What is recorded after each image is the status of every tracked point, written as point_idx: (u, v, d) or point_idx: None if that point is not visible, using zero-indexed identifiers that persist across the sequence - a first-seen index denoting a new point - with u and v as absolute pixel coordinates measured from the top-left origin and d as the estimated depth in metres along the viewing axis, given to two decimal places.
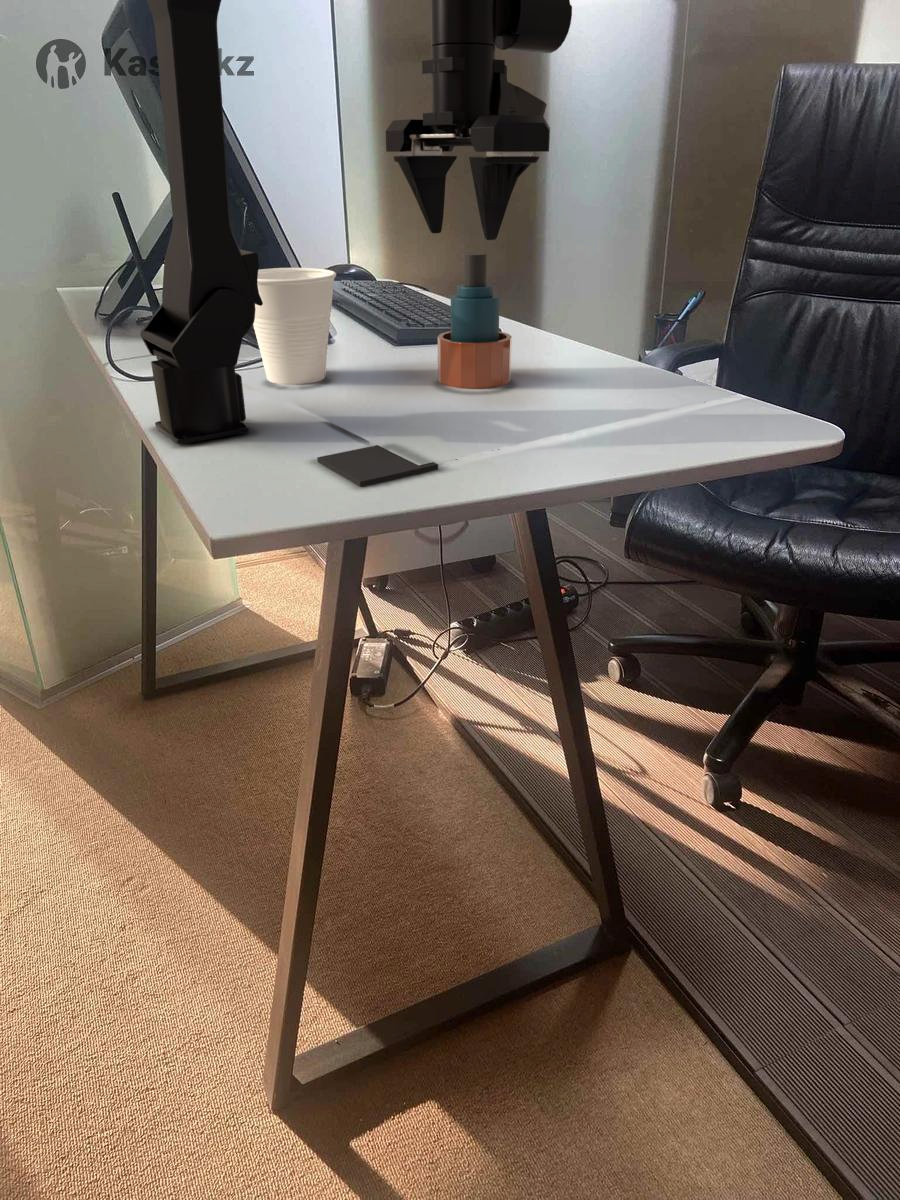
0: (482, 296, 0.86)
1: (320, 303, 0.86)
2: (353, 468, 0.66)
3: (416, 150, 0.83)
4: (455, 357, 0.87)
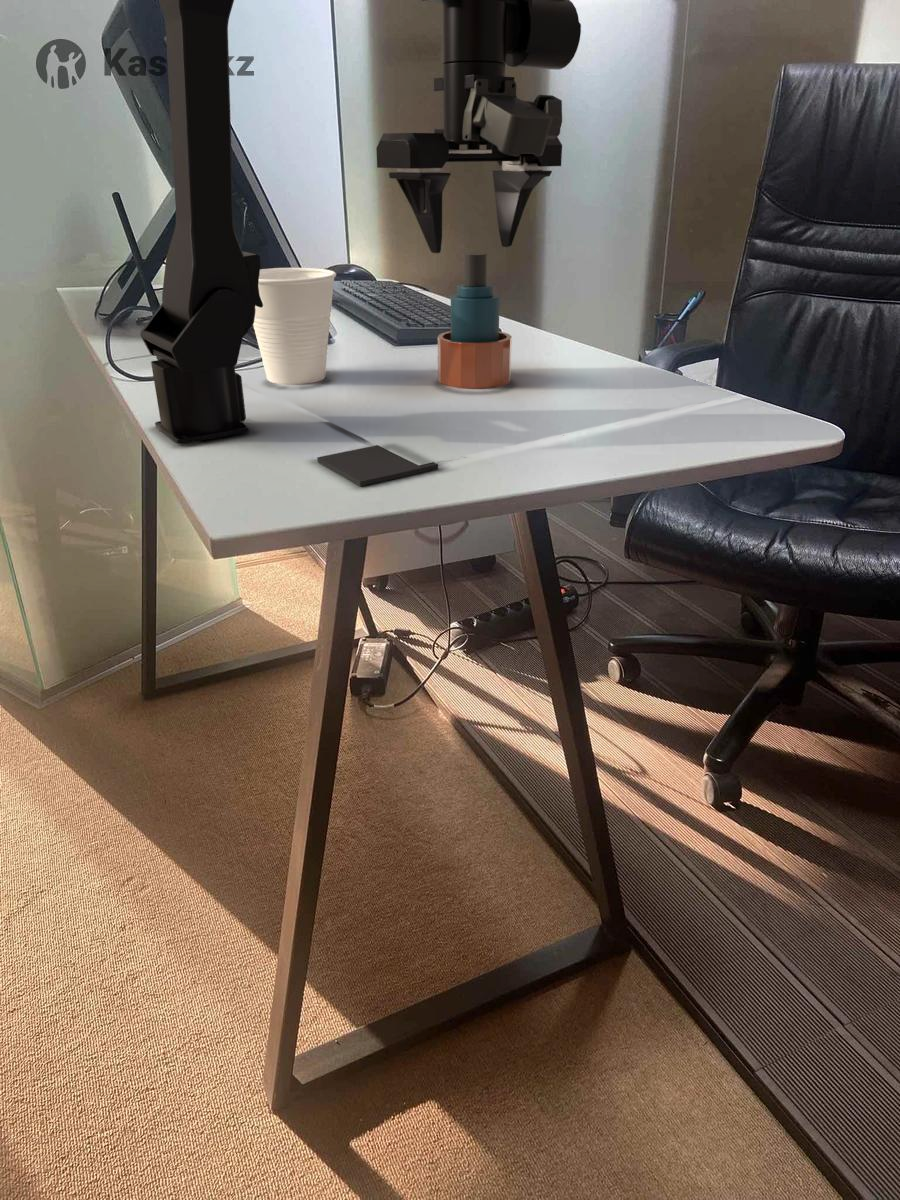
0: (482, 296, 0.86)
1: (320, 303, 0.86)
2: (353, 468, 0.66)
3: (504, 164, 0.86)
4: (455, 357, 0.87)
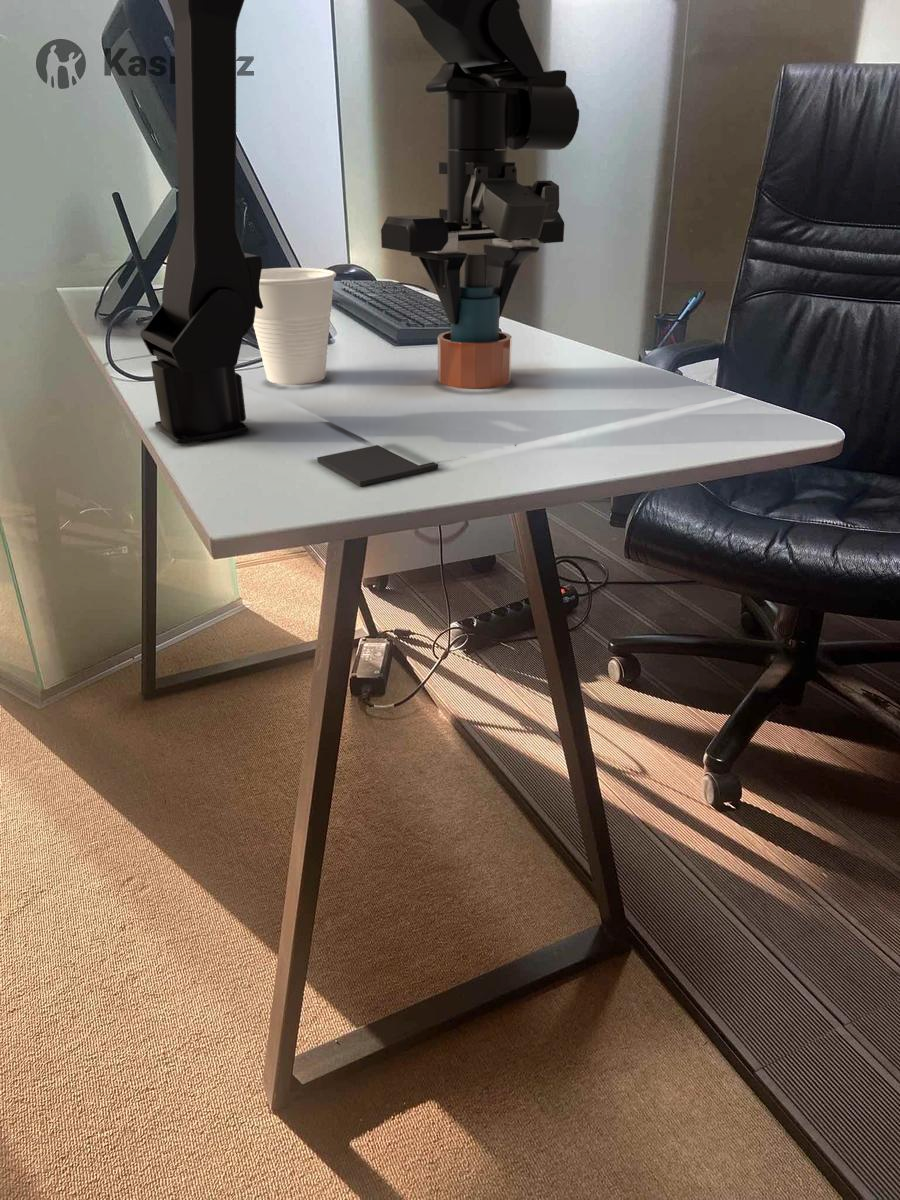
0: (482, 296, 0.86)
1: (320, 303, 0.86)
2: (353, 468, 0.66)
3: (494, 240, 0.88)
4: (455, 357, 0.87)
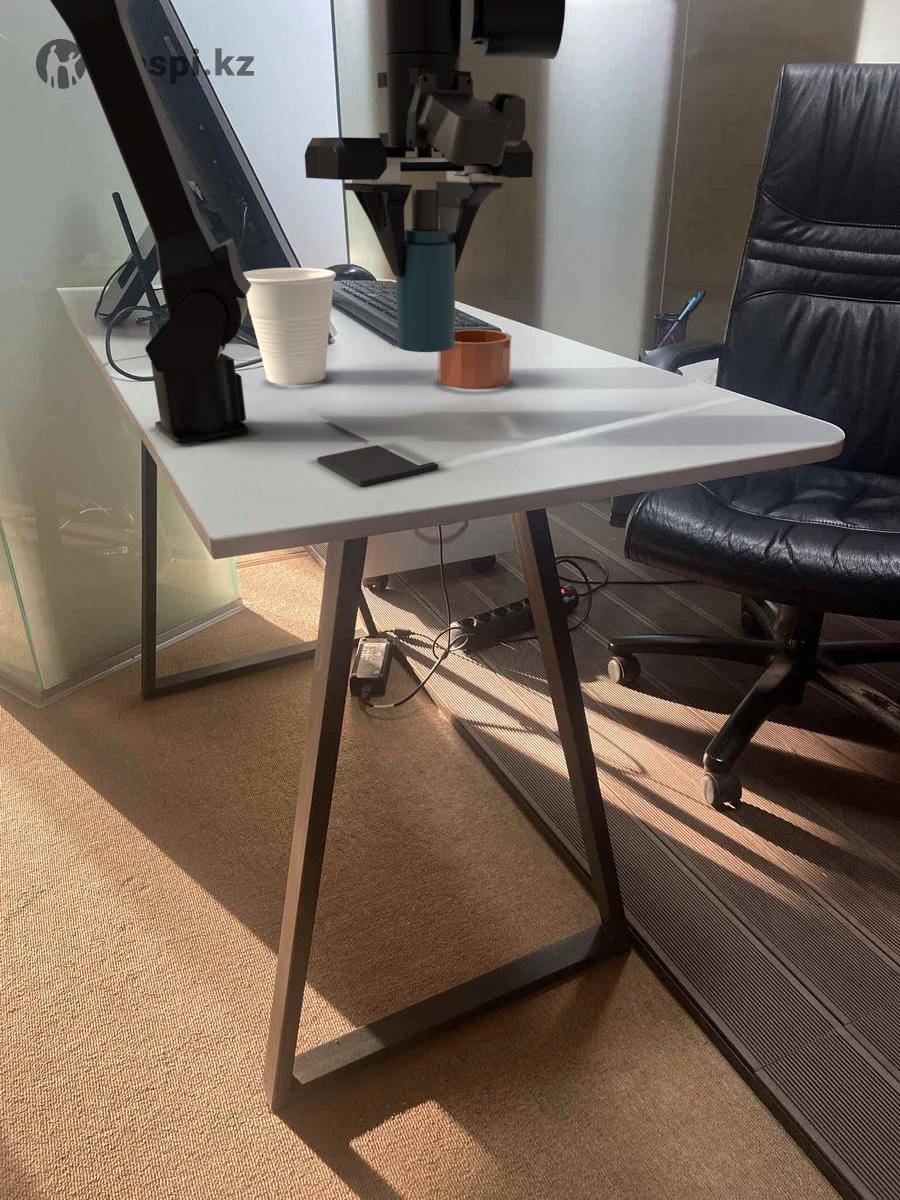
0: (433, 241, 0.70)
1: (320, 303, 0.86)
2: (353, 468, 0.66)
3: (448, 175, 0.72)
4: (455, 357, 0.87)
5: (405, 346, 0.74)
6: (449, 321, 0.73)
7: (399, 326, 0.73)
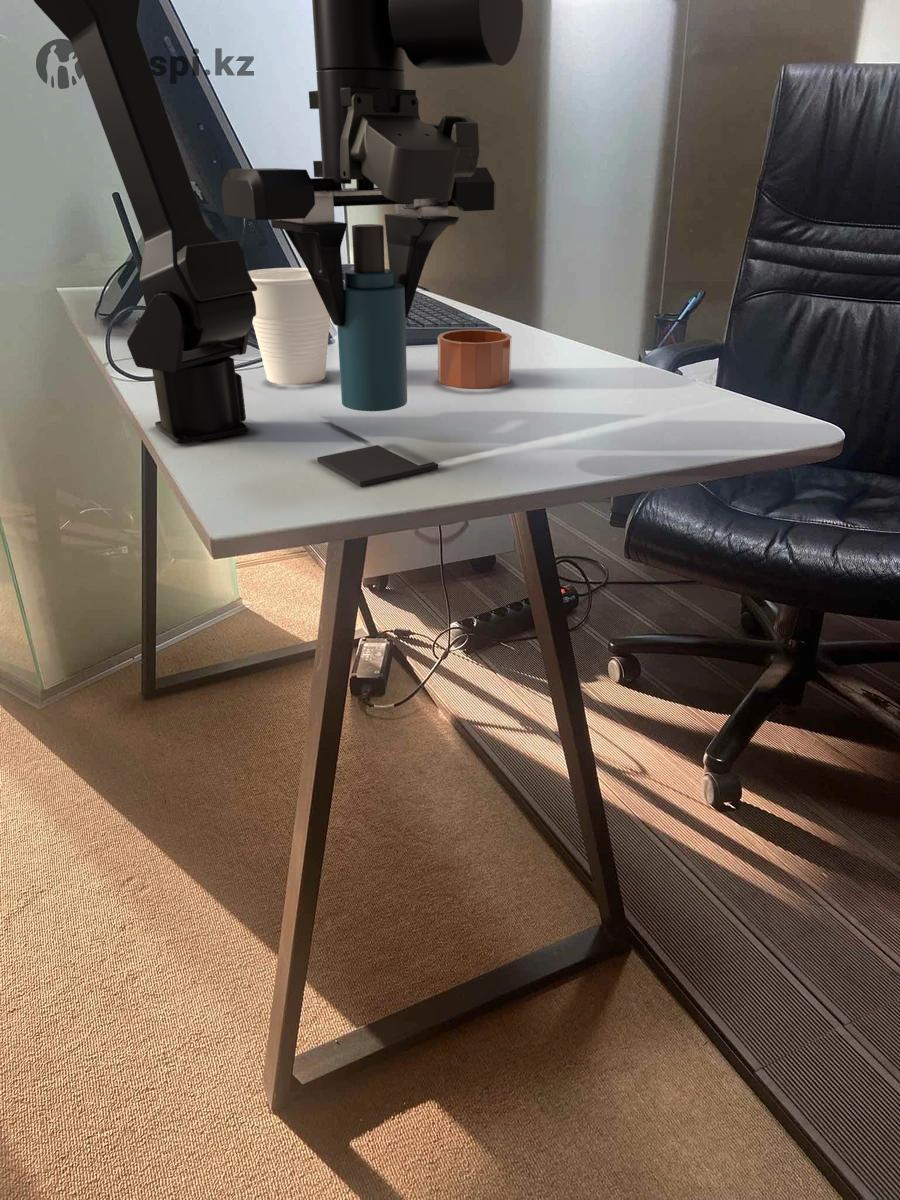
0: (377, 286, 0.60)
1: (320, 303, 0.86)
2: (353, 468, 0.66)
3: (398, 207, 0.62)
4: (455, 357, 0.87)
5: (349, 404, 0.64)
6: (399, 375, 0.63)
7: (342, 381, 0.64)
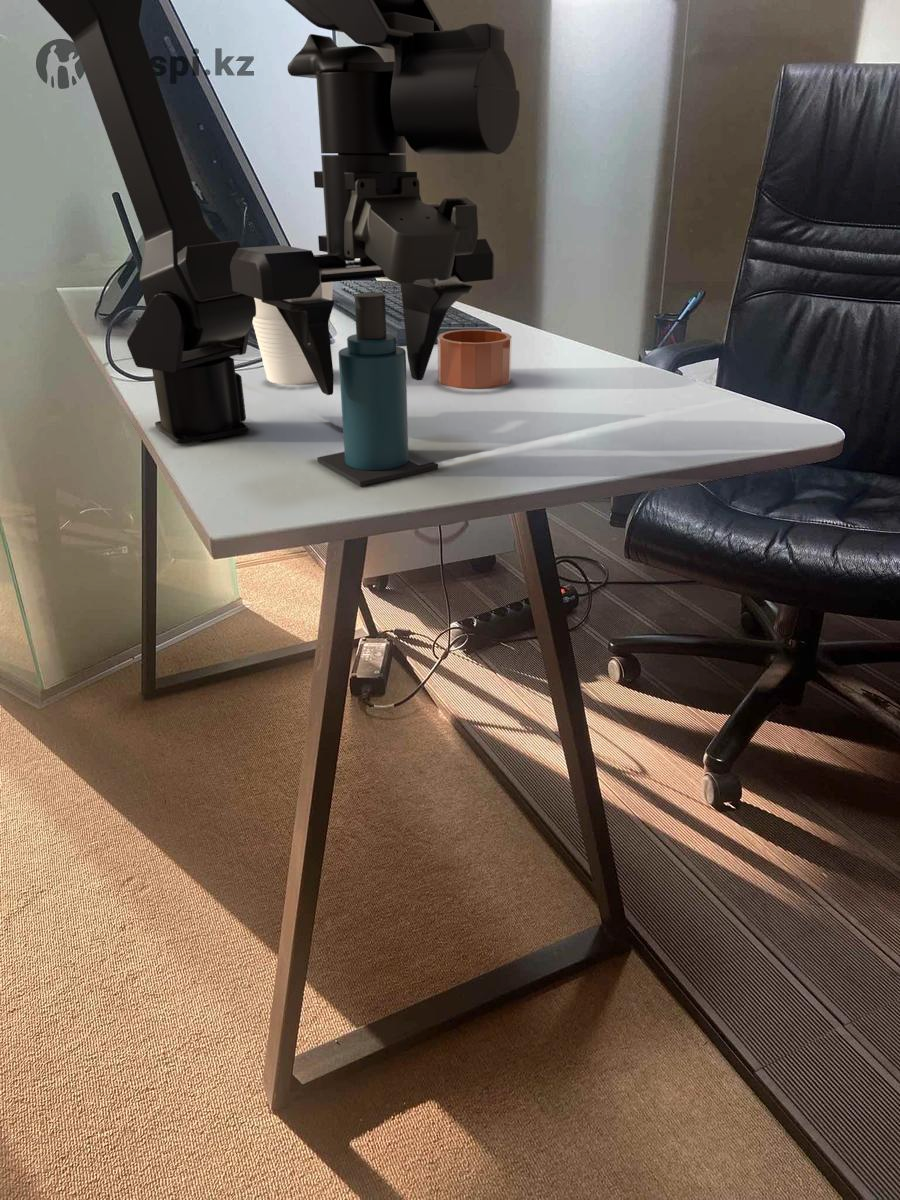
0: (379, 353, 0.62)
1: None
2: (353, 468, 0.66)
3: None
4: (455, 357, 0.87)
5: (352, 463, 0.66)
6: (401, 436, 0.65)
7: (345, 441, 0.66)
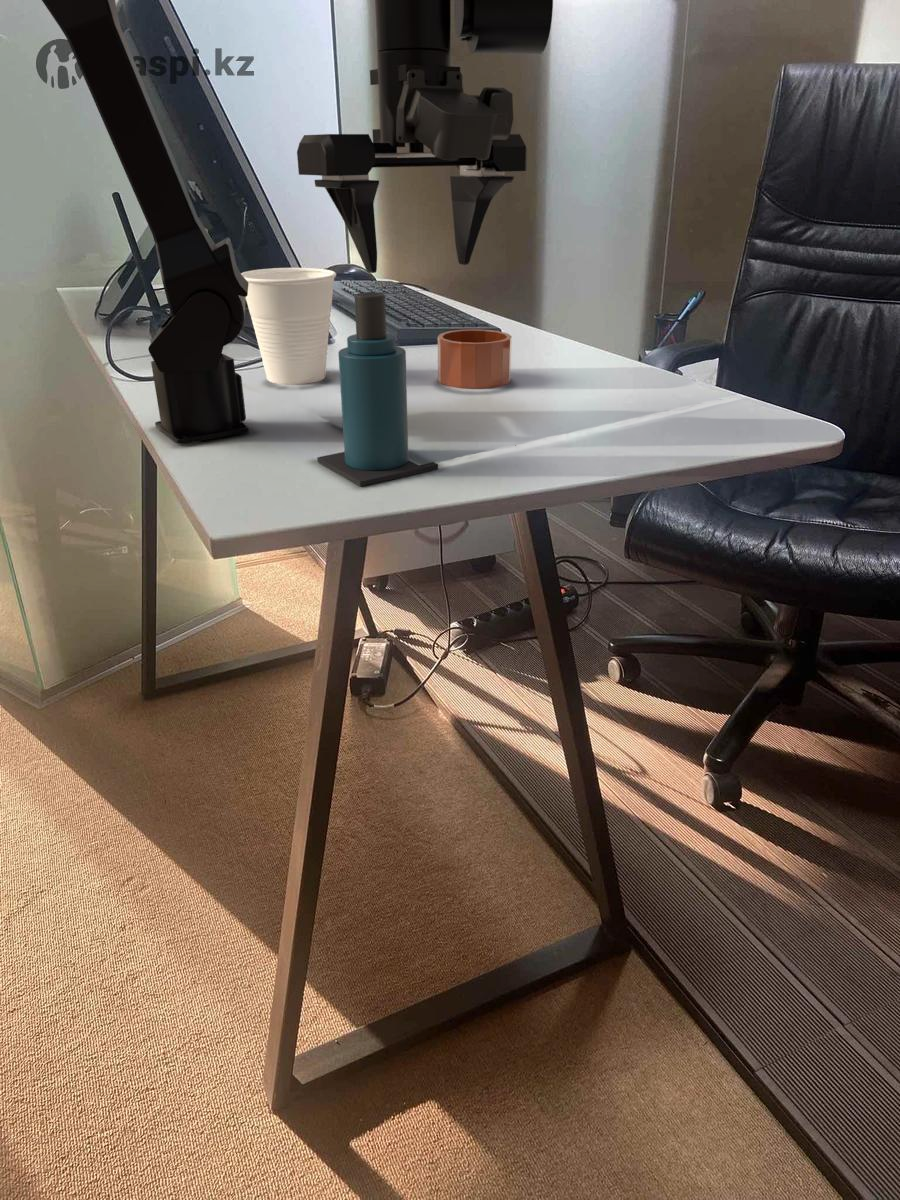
0: (379, 353, 0.62)
1: (320, 303, 0.86)
2: (353, 468, 0.66)
3: (462, 169, 0.74)
4: (455, 357, 0.87)
5: (352, 463, 0.66)
6: (401, 436, 0.65)
7: (345, 441, 0.66)
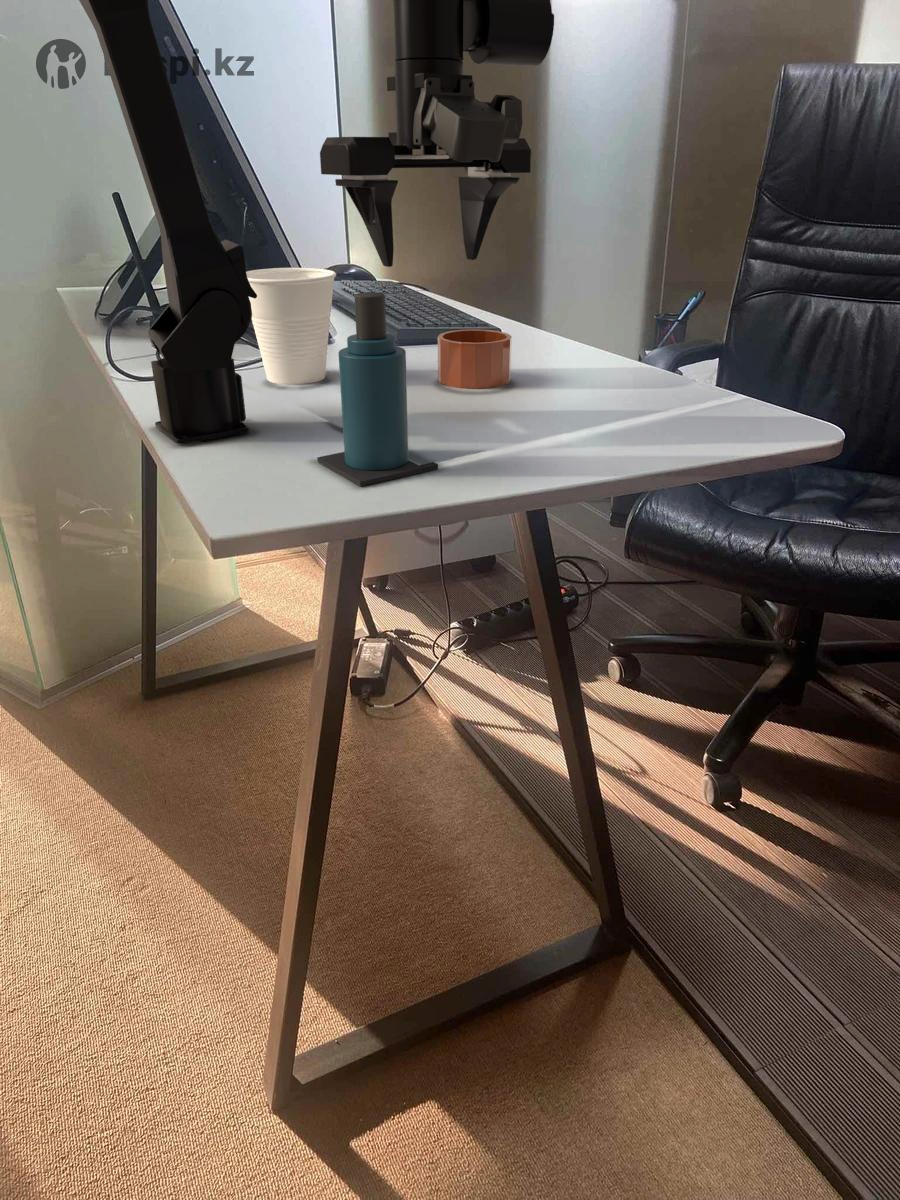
0: (379, 353, 0.62)
1: (320, 303, 0.86)
2: (353, 468, 0.66)
3: (470, 170, 0.79)
4: (455, 357, 0.87)
5: (352, 463, 0.66)
6: (401, 436, 0.65)
7: (345, 441, 0.66)
